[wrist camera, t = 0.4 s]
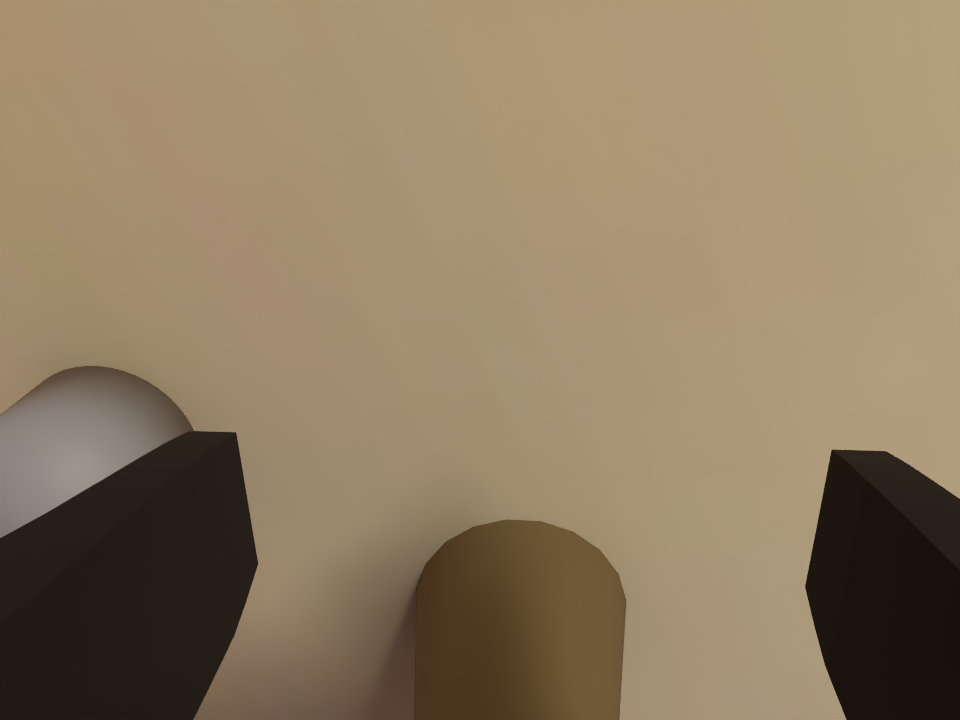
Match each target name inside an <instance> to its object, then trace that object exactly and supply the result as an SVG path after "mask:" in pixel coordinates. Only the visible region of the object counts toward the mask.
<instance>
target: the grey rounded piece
mask: <svg viewBox="0 0 960 720" xmlns="http://www.w3.org/2000/svg"><path fill="white" fill-rule="evenodd" d="M188 431H194V430H193V428H192V426H191V424H190V423H189V421H188V419H187V418H186V416H185V415H184V414H183V412H182V411H181V410H180V409H179V407H178V406H177V405H176V404H175V403H174V402H173V401H172V400H171V399H170V398H169V397H168V396H167V395H166V394H164V393H163V392H162V391H161V390H159V389H158V388H157V387H155V386H153V385H152V384H150V383H149V382H147V381H145V380H143V379H141V378H139V377H137V376H135V375H133V374H130V373H127V372H125V371H121V370H117V369H113V368H108V367H100V366H83V367H75V368H71V369H67V370H63V371H61V372H58V373H56V374H54V375H52V376H50V377H49V378H47V379H46V380H44V381H43V382H42V383H40V384H39V385H38V386H36V387H35V388H34V389H33V390H31V391H30V392H29V393H27V394H26V395H25V396H24V397H22V398H21V399H20V400H19V401H17V402H16V403H15V404H13V405H12V406H11V407H10V408H8V409H7V410H6V411H4V412H3V413H2V414H1V415H0V538H1V537H3V536H5V535H7V534H9V533H10V532H12V531H14V530H16V529H18V528H20V527H21V526H23V525H25V524H27V523H29V522H31V521H32V520H34V519H36V518H38V517H40V516H42V515H43V514H45V513H47V512H49V511H50V510H52V509H54V508H55V507H57V506H59V505H60V504H62V503H64V502H66V501H67V500H69V499H71V498H72V497H74V496H76V495H77V494H79V493H81V492H82V491H84V490H86V489H87V488H89V487H91V486H93V485H94V484H96V483H98V482H99V481H101V480H103V479H104V478H106V477H108V476H109V475H111V474H113V473H114V472H116V471H118V470H119V469H121V468H123V467H124V466H126V465H128V464H130V463H131V462H133V461H135V460H136V459H138V458H140V457H141V456H143V455H145V454H147V453H148V452H150V451H152V450H153V449H155V448H157V447H159V446H161V445H162V444H164V443H166V442H168V441H170V440H172V439H174V438H176V437H178V436H180V435H182V434H184V433H186V432H188Z"/></svg>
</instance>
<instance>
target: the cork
mask: <svg viewBox="0 0 960 720" xmlns="http://www.w3.org/2000/svg"><path fill="white" fill-rule="evenodd" d="M625 613H626V598H625V595H624V591H623V588H622V584H621V581H620V578H619V574H618V573H617V572H616V570H615V569H614V568H613V566H612V565H611V564H610V562H609V561H608V560H607V558H606V557H605V556H604V555H603V553H602V552H601V551H600V550H599V549H598V548H596V547H595V546H593V545H592V544H590V543H589V542H587V541H586V540H584V539H583V538H581V537H580V536H578V535H577V534H576V533H574V532H571V531H568V530H565V529H562V528H559V527H556V526H553V525H550V524H547V523H544V522H540V521H521V520H503V521H498V522H494V523H489V524H485V525H480V526H475V527H472V528H471V529H469V530H467V531H465V532H463V533H461V534H460V535H458V536H456V537H454V538H452V539H451V540H449V541H447V542H445V544H444V545H443V546H442V547H441V548H440V549H439V550H438V551H437V552H436V553H435V554H434V556H433V557H432V558H431V559H430V560H429V561H428V562H427V563H426V566H425V568H424V571H423V573H422V576H421V578H420V581H419V583H418V586H417V596H416V651H415V706H414V720H619V715H620V698H621V681H622V664H623V647H624V630H625Z"/></svg>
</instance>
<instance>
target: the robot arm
mask: <svg viewBox="0 0 960 720" xmlns="http://www.w3.org/2000/svg"><path fill="white" fill-rule="evenodd" d="M257 565H258V561H257V555H256V549H255V543H254V537H253V531H252V525H251V519H250V513H249V507H248V501H247V495H246V489H245V483H244V477H243V471H242V465H241V459H240V453H239V447H238V441H237V435H236V432H201V431H188V432H186V433H184V434H182V435H180V436H178V437H176V438H174V439H172V440H170V441H168V442H166V443H164V444H162V445H161V446H159V447H157V448H155V449H153V450H152V451H150V452H148V453H147V454H145V455H143V456H141V457H140V458H138V459H136V460H135V461H133V462H131V463H130V464H128V465H126V466H124V467H123V468H121V469H119V470H118V471H116V472H114V473H113V474H111V475H109V476H108V477H106V478H104V479H103V480H101V481H99V482H98V483H96V484H94V485H93V486H91V487H89V488H87V489H86V490H84V491H82V492H81V493H79V494H77V495H76V496H74V497H72V498H71V499H69V500H67V501H66V502H64V503H62V504H60V505H59V506H57V507H55V508H54V509H52V510H50V511H49V512H47V513H45V514H43V515H42V516H40V517H38V518H36V519H34V520H32V521H31V522H29V523H27V524H25V525H23V526H21V527H20V528H18V529H16V530H14V531H12V532H10V533H9V534H7V535H5V536H3V537H1V538H0V720H193V719H194V717H195V715H196V713H197V711H198V709H199V707H200V705H201V703H202V701H203V699H204V697H205V695H206V693H207V691H208V689H209V687H210V685H211V683H212V681H213V679H214V676H215V674H216V672H217V670H218V668H219V666H220V664H221V662H222V660H223V658H224V656H225V654H226V652H227V650H228V647H229V645H230V643H231V641H232V639H233V637H234V635H235V632H236V629H237V626H238V623H239V620H240V618H241V615H242V612H243V609H244V606H245V603H246V600H247V597H248V594H249V591H250V588H251V584H252V581H253V578H254V575H255V572H256V569H257ZM805 588H806V592H807V596H808V601H809V605H810V609H811V613H812V617H813V621H814V626H815V630H816V633H817V637H818V641H819V645H820V648H821V652H822V656H823V659H824V663H825V666H826V669H827V671H828V674H829V676H830V679H831V682H832V684H833V687H834V689H835V692H836V694H837V697H838V699H839V702H840V704H841V707H842V709H843V712H844V714H845V717H846V719H847V720H960V499H959V498H957V497H956V496H954V495H953V494H952V493H950V492H949V491H947V490H946V489H944V488H943V487H941V486H940V485H938V484H937V483H935V482H934V481H932V480H931V479H930V478H928V477H927V476H925V475H924V474H922V473H921V472H919V471H918V470H916V469H914V468H913V467H911V466H910V465H908V464H907V463H905V462H903V461H902V460H900V459H899V458H897V457H895V456H893V455H891V454H890V453H888V452H886V451H857V450H832V451H831V456H830V462H829V467H828V472H827V477H826V482H825V487H824V493H823V498H822V503H821V508H820V513H819V518H818V524H817V529H816V534H815V539H814V544H813V549H812V555H811V560H810V565H809V570H808V575H807V580H806V586H805Z"/></svg>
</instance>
